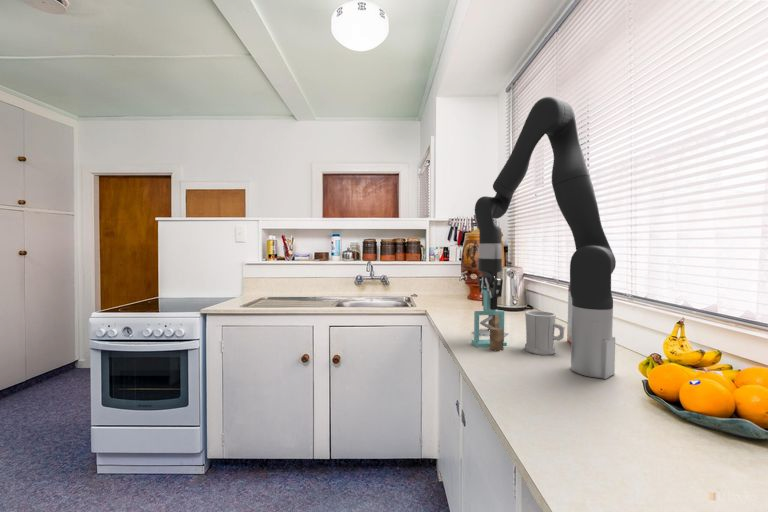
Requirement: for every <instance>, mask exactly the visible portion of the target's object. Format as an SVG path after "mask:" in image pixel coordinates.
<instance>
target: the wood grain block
mask: <svg viewBox="0 0 768 512" xmlns="http://www.w3.org/2000/svg"><path fill="white" fill-rule="evenodd" d="M487 316H488V317H490V316H491V315H487ZM488 317H487V318H488ZM487 323H488V325H490V326H492V327H494V328H492V329H489V328H487V331H488V330H490V336H489V339H490V347H489V350H490V349H492V350H491V351H494V350H496V351H495V352H501V351H503V350H504V347H503V335H504V333H505V328H504V329H500V328H499V315H494V318H492V319H491V320H489V321H487ZM500 350H501V351H500Z"/></svg>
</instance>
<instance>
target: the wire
mask: <svg viewBox="0 0 768 512" xmlns="http://www.w3.org/2000/svg"><path fill="white" fill-rule="evenodd" d="M492 318H494V315H491V316H490V317H486V318H485V319H483V320H481V321H479V325H481V326H483V327H485V328H487V329H488V328H489V329H492V328H494V327H492V326H490V325H488V324H487V323H488V321H489V320H491V319H492Z"/></svg>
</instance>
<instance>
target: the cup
mask: <svg viewBox="0 0 768 512" xmlns="http://www.w3.org/2000/svg"><path fill="white" fill-rule="evenodd" d="M524 314H525V329H526V330H525V331H526V333H525V334H526V335H525V337H526V338H525V339H526V340H525V342H526V343H525V344H524V350H526V352H528V353H530V354H534V355H541V356H551V355H553V354H554V353H556V347H555V341H558V342H560V341H562V340H563V339H564V338H565V328H566V327H565V326H564V324H561V323H558V322H556V319H557V314H556V313H553V312H550V311H544V310H543V311H541V310H528V311H527V310H526V311H525V312H524ZM555 329H558V330H559V334H558V335H557V336H555Z"/></svg>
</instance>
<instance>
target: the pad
mask: <svg viewBox="0 0 768 512" xmlns="http://www.w3.org/2000/svg"><path fill="white" fill-rule="evenodd" d="M471 333H474V330H473V331H471ZM479 334H482V335H481V336H485V335H489V336H488V337H490V331H488V329H487V330H486V329H479ZM506 335H507V336H508V335H509V333H508V332H504V337H505V336H506ZM507 336H506V337H507ZM506 337H505V338H506Z"/></svg>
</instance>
